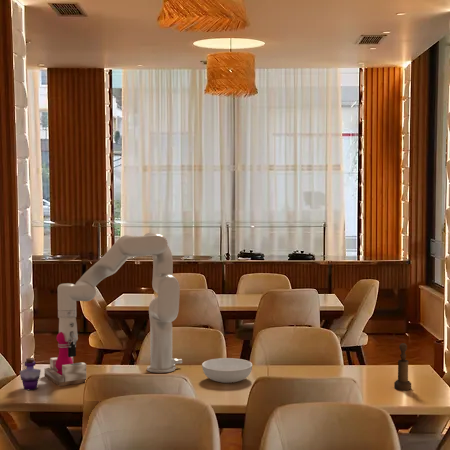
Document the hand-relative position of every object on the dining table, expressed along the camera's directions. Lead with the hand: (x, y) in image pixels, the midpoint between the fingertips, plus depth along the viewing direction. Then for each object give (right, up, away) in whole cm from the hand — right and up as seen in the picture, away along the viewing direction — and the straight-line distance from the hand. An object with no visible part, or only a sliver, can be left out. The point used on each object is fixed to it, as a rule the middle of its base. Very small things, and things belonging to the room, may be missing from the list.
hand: (67, 354), depth 319 cm
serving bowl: (+66, -11, -2) cm, 67 cm away
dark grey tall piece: (+136, -11, -15) cm, 137 cm away
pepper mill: (-1, -9, 0) cm, 9 cm away
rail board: (-1, -10, 0) cm, 10 cm away
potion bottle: (-12, -11, -14) cm, 21 cm away
